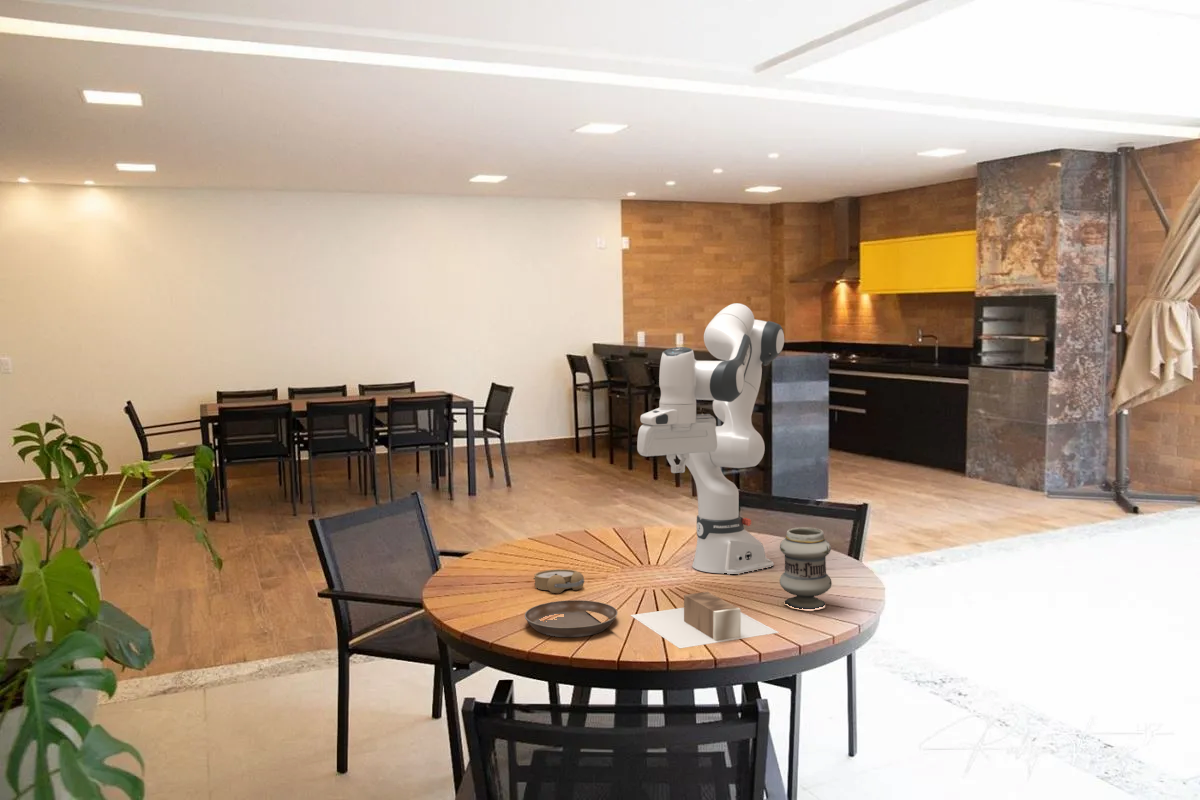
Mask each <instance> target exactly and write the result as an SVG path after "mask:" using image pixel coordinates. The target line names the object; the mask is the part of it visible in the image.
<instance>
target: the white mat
mask: <svg viewBox="0 0 1200 800" xmlns="http://www.w3.org/2000/svg"><path fill="white" fill-rule="evenodd" d="M629 616H630V617H632V618H633V619H635V620H637V621H638V622H640V623H641V624H642V625H644V626H645V627H647V628H648V629H650V630H651V631H652V632H654V633H656V634H657V635H659V636H660V637H662V638H663V639H664V640H666V641H667V642H669V643H670V644H672V645H673V646H675V647H676V648H678V649H680V650H681V649H685V648H691V647H699V646H703V645H709V644H710V645H711V644H716V643H722V642H730V641H735V640H742V639H747V638H754V637H760V636H766V635H773V634H778V633H780V632H779V631H777V630H775V629H773V628H772V627H770V626H768V625H765V624H764V623H762V622H760V621H758V620H756V619H754V618H753V617H751V616H749V615H747V614H746V613H744V612H742V611H741V637H736V638H730V639H724V640H717V641H715V640H714V639H712V638H710V637H709V636H707V635H705V634H704V633H702V632H701V631H699V630H697V629H696V628H694V627H692V626H691V625H689V624H687V623H686V622H684V607H679V608H677V607H676V608H672V609H663V610H658V611H650V612H643V613H637V614H630V615H629Z"/></svg>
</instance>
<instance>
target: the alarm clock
mask: <svg viewBox="0 0 1200 800" xmlns="http://www.w3.org/2000/svg"><path fill="white" fill-rule="evenodd" d="M533 580H534V587H536V588H535V589H537V588H538V590H542V591H549V592H551V593H552V594H554V593H558V594H560V592H561V593H563V591H565V590H569V589H572V590H573V591H578V589H579V590H581V589H582V588H583V586H584V583H585V578H584V575H583V574H582V572H580V571H577V570H573V569H564V568H563V569H559V568H558V569H549V570H548V569H547V570H541V571H538V572H536V573H534V577H533Z"/></svg>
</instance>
